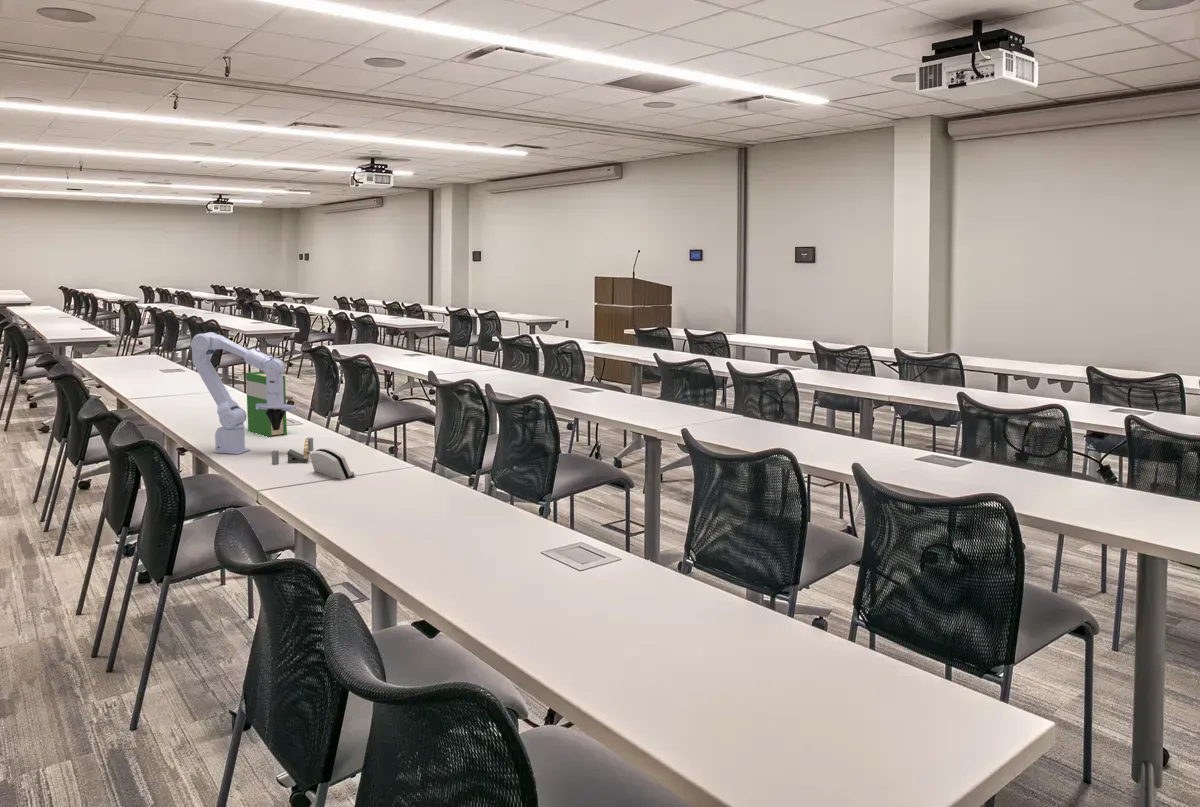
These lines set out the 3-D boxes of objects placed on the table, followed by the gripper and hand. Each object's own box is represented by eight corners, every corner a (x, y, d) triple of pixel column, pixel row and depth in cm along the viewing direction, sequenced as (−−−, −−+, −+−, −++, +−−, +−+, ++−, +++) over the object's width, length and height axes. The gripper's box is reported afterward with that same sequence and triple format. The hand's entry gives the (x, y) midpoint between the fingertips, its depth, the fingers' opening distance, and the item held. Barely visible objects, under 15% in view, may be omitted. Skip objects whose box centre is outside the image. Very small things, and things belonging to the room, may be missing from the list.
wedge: (308, 459, 301) (308, 448, 301) (306, 463, 296) (305, 451, 296) (289, 460, 300) (289, 448, 299) (286, 463, 295) (286, 451, 295)
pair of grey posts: (272, 464, 293) (271, 451, 292) (309, 449, 318) (309, 437, 317) (276, 464, 293) (275, 451, 292) (313, 449, 318) (313, 437, 317)
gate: (305, 446, 315) (304, 439, 314) (310, 446, 315) (310, 438, 315) (303, 458, 295) (303, 450, 295) (309, 458, 296) (309, 450, 295)
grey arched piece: (356, 477, 278) (346, 450, 274) (344, 484, 275) (334, 457, 271) (327, 468, 289) (317, 442, 285) (315, 475, 286) (305, 449, 282)
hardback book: (286, 435, 343) (285, 375, 340) (269, 437, 338) (267, 377, 334) (265, 429, 355) (263, 371, 351) (248, 431, 349) (245, 372, 346)
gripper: (250, 393, 305) (251, 430, 307) (287, 395, 303) (288, 433, 305) (261, 390, 312) (262, 427, 314) (298, 392, 310) (299, 429, 312)
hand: (276, 429), depth 310 cm, fingers closed
